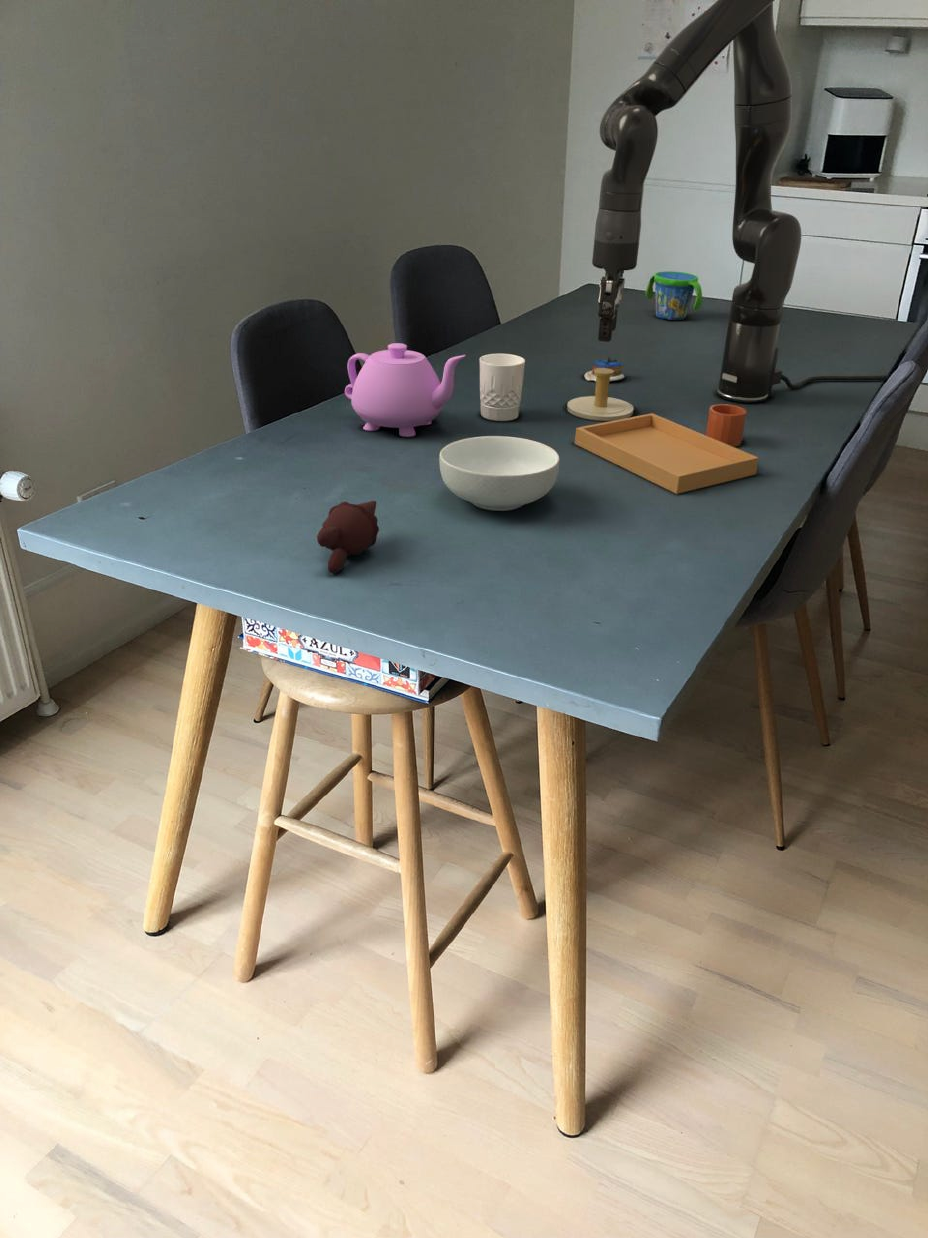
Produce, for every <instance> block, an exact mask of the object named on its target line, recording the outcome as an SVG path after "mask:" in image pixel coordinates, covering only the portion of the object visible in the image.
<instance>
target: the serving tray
mask: <svg viewBox="0 0 928 1238" xmlns="http://www.w3.org/2000/svg"><path fill="white" fill-rule="evenodd" d="M574 445H576V446H578V447H580V448H582V449H584V450H585V451H588V452H590V453H592V454H593V455H596V456H598V457H600V458H602V459H605V460H606V461H609V462H610V463H613V464H615V465H616V466H619V467H621V468H623V469H625V470H627V471H628V472H631V473H632V474H635V475H637V476H639V477H641V478H643V479H645V480H647V481H649V482H651V483H653V484H655V485H656V486H657V485H658V486H659V487H662V488H664V489H665V490H667V491H670V492H671V493H674V494H676V495H678V494H682V493H686V492H691V491H695V490H698V489H702V488H706V487H711V486H715V485H718V484H723V483H726V482H730V481H735V480H739V479H743V478H747V477H750V476H755V475H757V470H758V464H759V457H758V456H756V455H753V454H751V453H749V452H746V451H744V450H742V449H739V448H737V447H732V446H730V445H727V444H725V443H722V442H720V441H718V440H715V439H713V438H710V437H708V436H706V434H703V433H700V432H698V431H696V430H694V429H691V428H690V427H689V428H688V427H687V426H685V425H682V424H680V423H676V422H674V421H672V420H670V419H667V418H665V417H662V416H660V415H658V414H656V413H653V412H651V413H646V414H642V415H637V416H630V417H628V418H625V419H620V420H615V421H603V422H600V423H594V424H589V425H585V426H584V425H583V426H579V427H576V428H575V437H574Z"/></svg>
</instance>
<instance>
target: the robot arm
mask: <svg viewBox="0 0 928 1238" xmlns="http://www.w3.org/2000/svg"><path fill="white" fill-rule="evenodd" d="M775 1H776V0H716V1H715V2H714V3H713V4H712V5H711V6H709V7H708V8H707V9H706V10H704V11H703V12H702V13H701V14H700V15H699V16H698V17H696V18H695V19H694V20H693V21H691V22H690V23H689V24H688V25H686V26H685V27H684V28H683V29H682V30H680V31H679V33H677V34H676V35H675V36H674V37H673V38H672V39H671V40H670V42H669V43H667V45H666V46H665V48H663V50H662V51H661V53H660V54H659V55H658V56H657V57H656V59H655V60H654V61H653V62H652V64H651V65H650V66H649V67H648V69H647V70H646V72H644V74H643V75H642V76H640V78H638V79H637V80H635V81H634V82H633V83H631V85H630V86H629V87H628V88H626V89H625V90H624V91H623V92H622V93H620V95H618V96H617V97H616V98H615V99H614V100H613V102H612V103H611V104H610V105H609V106H608V108H606V111H605V112H604V114H603V116H602V117H601V121H600V126H599V136H600V139H601V142H602V143H603V145H604V146H605V147H606V148H608V149H609V150H611V151H615V152H614V157H613V161H612V166H611V168H610V169H608V170H606V171H605V172H604V173H603V175H602V179H601V182H600V183H601V184H600V192H599V201H598V202H599V203H598V209H597V215H596V220H595V228H594V237H593V238H594V239H593V248H592V249H593V250H592V259H591V264H592V266H593V267H594V268H596V269H599V270H601V269H603V270H604V271H605V273H604V276H601V278H600V280H599V295H598V307H599V308H598V311H597V316H598V318H599V325H598V334H597V340H598V341H599V342H605V343H609V342H611V341H612V337H613V331H615V330H616V328H617V319H618V312H619V311H618V310H619V308H620V306H621V303H620V302H621V301H622V299H623V294H624V288H625V284H626V278H625V277H624V273H625V271H631V270H634V269H635V268H637V266H638V258H639V257H638V256H639V247H640V241H641V240H640V239H641V230H642V208H643V201H644V189H645V182H646V178H647V177H648V174H649V171H650V167H651V164H652V161H653V158H654V155H655V152H656V148H657V144H658V137H659V125H658V120H657V116H658V115H659V114H660V113H661V112H663V111H667V110H670V109H672V108H674V107H675V106H676V105H678V103H680V101H681V100H682V99H683V98H684V97H685V96H686V94H688V93H689V91H690V90H691V88H693V86H694V85H695V83H697V81H698V80H699V79H700V78H701V77H702V75H703V74H704V73H705V71H706V70H707V69H708V68H709V67H710V65H712V64H713V62H714V61H715V60H716V59H717V58H718V57H719V55H720V54H721V53H722V52H723V51H724V50H726V48H727V47H728V46H729V45H730V44H731V43H732V54H733V56H732V58H733V59H732V60H733V81H734V83H733V85H734V86H733V87H734V89H733V90H734V92H733V107H734V108H733V110H734V111H733V112H734V113H733V114H734V115H733V117H734V134H735V137H734V138H735V188H734V191H735V192H734V204H733V215H732V218H733V219H732V232H731V233H732V234H731V236H732V237H731V239H732V247H733V250H734V252H735V255H736V256H737V257H738V258H739V259H741V260H742V261H744V262H747V263H750V264H754V265H753V269H752V273H751V276H750V279H749V280H748V281H747V282H744V283H740V284H738V285H736V286H735V287H734V288H733V292H732V296H731V304H730V310H729V318H728V324H727V330H726V331H727V332H726V336H725V342H724V349H723V355H722V363H721V369H720V375H719V381H718V387H717V391H716V394H717V396H718V397H720V398H722V399H724V400H727V401H732V402H736V403H746V404H753V403H761V402H764V401H766V400H767V399H768V398H770V397H771V394H772V391H773V390H772V389H773V386H774V385H775V386H776V385H780V384H781V381H783V382H784V383H785V385H786V386H787V387H788V388H789V389H791V390H798V389H801V388H802V387H804V386H805V385H807V384H808V383H811V382H818V381H884V380H885V381H886V380H889V379H888V377H889V375H890V374H884V375H883V374H882V375H817V376H810V377H808V378H805V379H803V380H802V381H800V382H799V383H798V384H793V383H792V382H791V380H790V379H789V378H788V377H787V376H786V375H784V374H783V371H782V370H780V369H777V362H778V356H779V351H780V348H779V346H778V345H777V344H778V337H779V331H780V326H781V321H782V315H783V309H784V305H785V299H786V297H787V296H788V294H789V291H790V290H791V287H792V285H793V280H794V277H795V273H796V268H797V264H798V259H799V255H800V251H801V250H800V249H801V245H802V227H801V223H800V221H799V220H798V218H797V217H796V216H794V215H793V214H790V213H787V212H782V211H778V210H774V209H773V205H772V204H773V203H772V181H773V175H774V170H775V167H776V166H777V163H778V160H779V158H780V156H781V154H782V152H783V150H784V148H785V146H786V143H787V141H788V138H789V136H790V132H791V128H792V120H793V85H792V84H793V83H792V78H791V75H790V69H789V67H788V63H787V62H786V58H785V56H784V53H783V51H782V49H781V45H780V42H779V39H778V37H777V33H776V28H775V22H774V2H775Z"/></svg>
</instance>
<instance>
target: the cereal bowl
mask: <svg viewBox="0 0 928 1238" xmlns="http://www.w3.org/2000/svg"><path fill="white" fill-rule="evenodd" d="M438 461H439V462H438V463H439V470H440V475H441V478H442V481H443V483H444V484H445V486H446V487H447V489H448V490H449V491H450V492H451V493H452V494H454V495H455V496H456V497H458V498H460V499H462V500H464V501H466V502H469V503H471V504H472V505H473V506H476V507H477V508H480V509H483V510H488V511H493V512H494V511H496V512H497V511H499V512H506V511H513V510H517V509H519V508H521V507H523V506H524V505H527V504H531V503H534V502H535V501H538V500H539V499H542V498H543V497H544V496H545V495H547V494H548V493H549V492H550V491H551V490H552V489H553V487H554V485H555V484H556V481H557V478H558V475H559V467H560V462H561V461H560V456H559V454H558V452H557V451H556V450H555V449H554V448H552V447H550V446H549V445H546V444H545V443H542V442H538V441H535V440H533V439H532V440H531V439H527V438H522V437H514V436H504V435H503V436H501V435H485V436H474V437H467V438H462V439H459V440H457V441H452V442H451V443H449V444H447V445H445V446H444V447H443V448H442V449H441V450H440V451H439V456H438Z"/></svg>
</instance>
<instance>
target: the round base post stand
mask: <svg viewBox="0 0 928 1238" xmlns="http://www.w3.org/2000/svg"><path fill="white" fill-rule="evenodd" d="M593 374H594V375H596V376H597V377H596V381H595V389H594V395H588V396H579V397H575V398H572V399H570V400H568V402H567V405H566V411H568V413H570V414H571V415H573V416H574V417H578V418H580V419H586V420H592V421H598V422H610V421H615V420H620V419H625V418H630V417H633V415H634V410H635V408H634V406H633V404H631V403H630V402H628V401H626V400H623V399H619V398H615V397H609V391H610V382H611V381H610V377H611V376H613V375H614V371H613V370H612V369H608V368H596V369H594V373H593Z"/></svg>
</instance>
